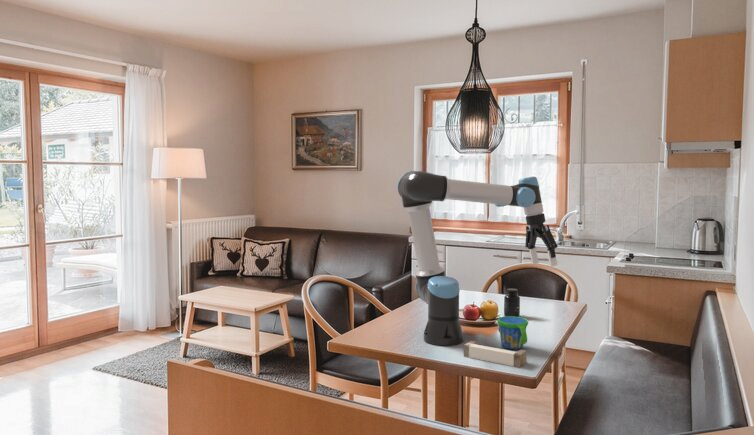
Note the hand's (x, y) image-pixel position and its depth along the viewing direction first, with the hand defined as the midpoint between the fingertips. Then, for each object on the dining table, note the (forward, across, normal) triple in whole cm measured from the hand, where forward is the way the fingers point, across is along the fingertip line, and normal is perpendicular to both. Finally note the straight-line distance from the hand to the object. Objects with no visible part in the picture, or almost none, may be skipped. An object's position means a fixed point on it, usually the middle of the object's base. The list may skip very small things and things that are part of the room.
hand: (544, 264), depth 226 cm
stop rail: (+21, -30, +44) cm, 57 cm away
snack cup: (+23, -20, +31) cm, 44 cm away
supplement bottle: (+22, +19, +9) cm, 31 cm away
